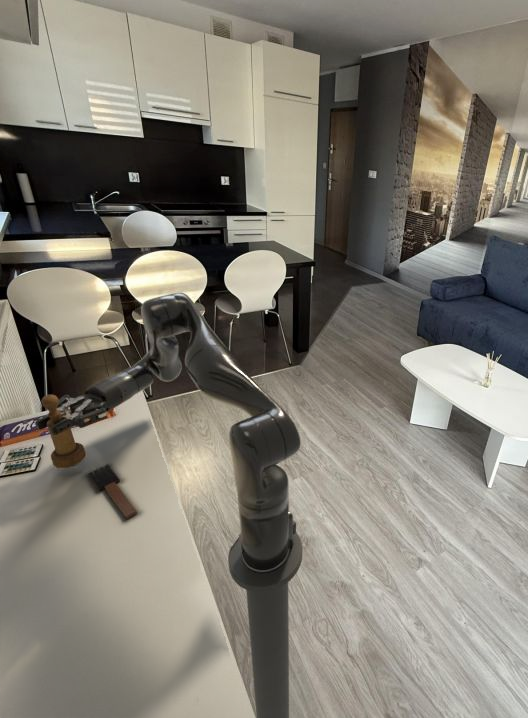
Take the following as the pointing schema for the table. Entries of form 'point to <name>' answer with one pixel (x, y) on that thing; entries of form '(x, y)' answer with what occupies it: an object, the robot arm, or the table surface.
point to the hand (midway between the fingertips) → (44, 428)
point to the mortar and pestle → (62, 438)
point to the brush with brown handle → (113, 490)
